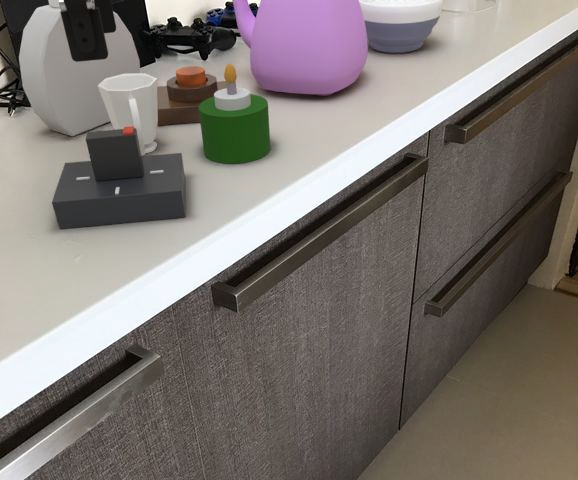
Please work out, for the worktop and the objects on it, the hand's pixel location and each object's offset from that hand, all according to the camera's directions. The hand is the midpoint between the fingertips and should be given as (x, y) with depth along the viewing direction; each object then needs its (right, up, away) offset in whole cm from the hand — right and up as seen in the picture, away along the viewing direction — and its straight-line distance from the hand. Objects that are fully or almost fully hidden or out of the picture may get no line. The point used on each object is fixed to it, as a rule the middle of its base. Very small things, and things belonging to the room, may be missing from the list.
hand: (96, 45), depth 63 cm
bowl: (+37, +26, +51) cm, 68 cm away
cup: (0, -3, +20) cm, 20 cm away
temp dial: (0, -10, +7) cm, 12 cm away
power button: (+5, +9, +29) cm, 31 cm away
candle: (+12, -3, +19) cm, 23 cm away
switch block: (+5, +7, +31) cm, 32 cm away
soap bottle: (-9, +4, +30) cm, 31 cm away
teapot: (+21, +14, +38) cm, 46 cm away
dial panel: (+1, -12, +9) cm, 16 cm away
